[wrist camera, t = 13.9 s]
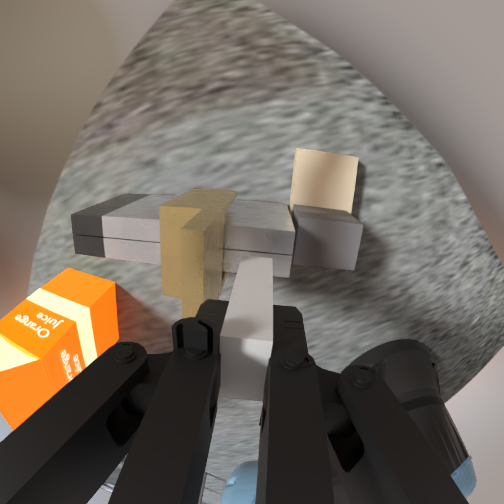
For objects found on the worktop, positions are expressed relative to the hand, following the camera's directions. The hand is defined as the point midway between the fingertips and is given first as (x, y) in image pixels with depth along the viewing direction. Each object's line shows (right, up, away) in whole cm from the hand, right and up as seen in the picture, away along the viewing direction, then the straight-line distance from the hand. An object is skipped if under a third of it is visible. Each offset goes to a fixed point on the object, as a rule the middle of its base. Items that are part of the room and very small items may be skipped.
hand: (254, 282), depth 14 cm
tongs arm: (-5, +6, +12) cm, 14 cm away
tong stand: (+6, +6, +11) cm, 14 cm away
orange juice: (-21, -5, +17) cm, 27 cm away
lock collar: (-3, +4, +9) cm, 10 cm away
